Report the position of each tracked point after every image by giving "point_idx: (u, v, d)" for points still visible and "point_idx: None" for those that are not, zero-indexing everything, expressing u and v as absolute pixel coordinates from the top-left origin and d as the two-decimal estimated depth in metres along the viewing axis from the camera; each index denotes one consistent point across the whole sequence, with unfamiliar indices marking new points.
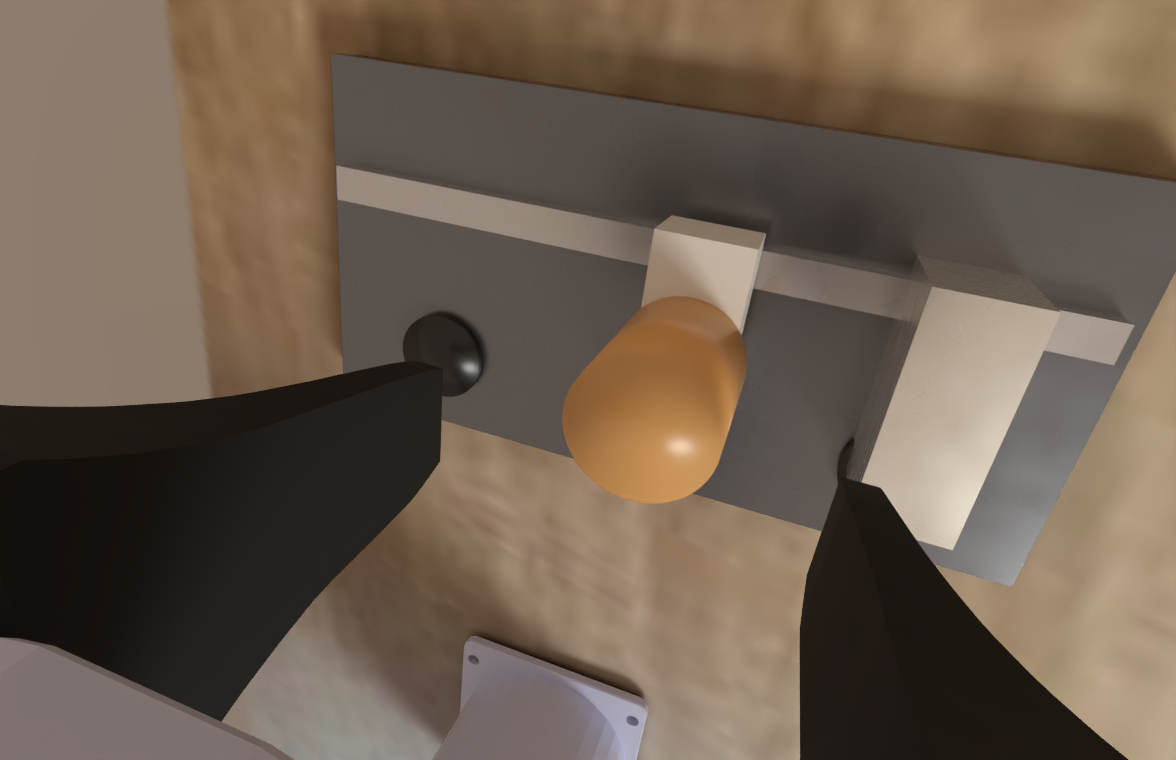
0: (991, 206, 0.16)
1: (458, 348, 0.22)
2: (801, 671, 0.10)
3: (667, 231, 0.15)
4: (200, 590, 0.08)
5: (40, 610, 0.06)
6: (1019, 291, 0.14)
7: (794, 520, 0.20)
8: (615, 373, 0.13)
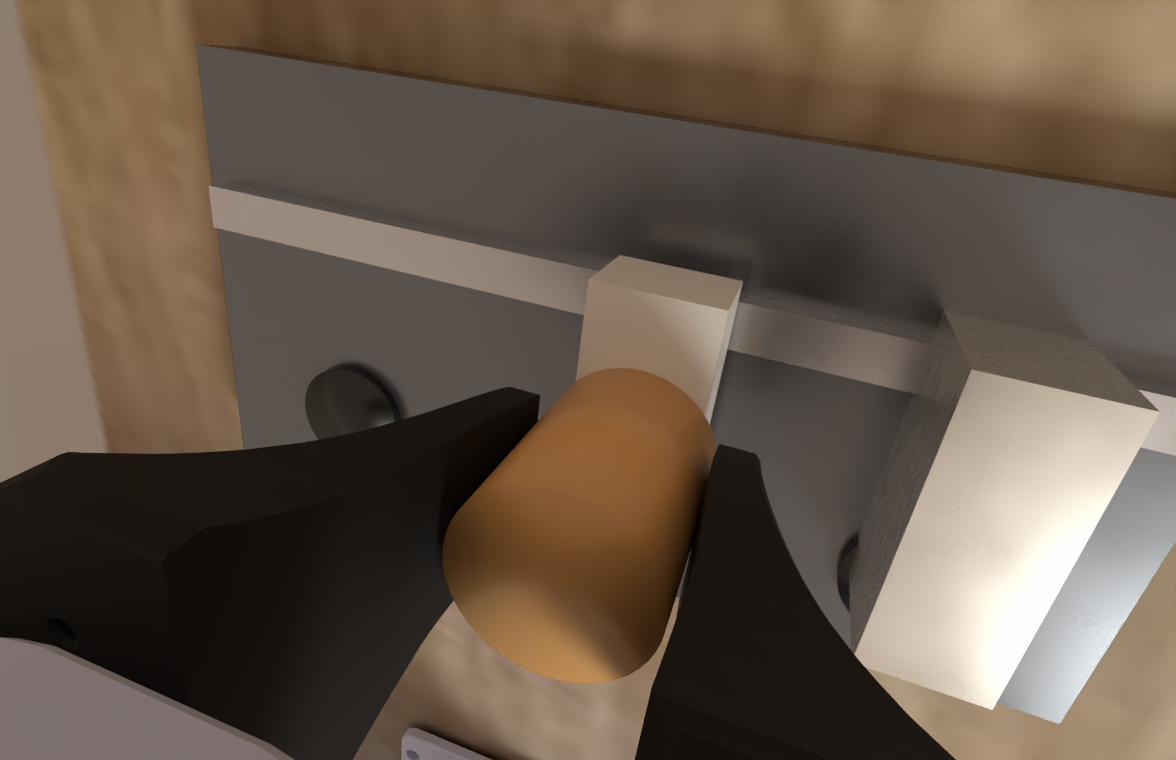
0: (1046, 249, 0.12)
1: (369, 409, 0.17)
2: None
3: (606, 283, 0.11)
4: (336, 645, 0.08)
5: (208, 684, 0.06)
6: (1091, 372, 0.10)
7: None
8: (510, 507, 0.09)
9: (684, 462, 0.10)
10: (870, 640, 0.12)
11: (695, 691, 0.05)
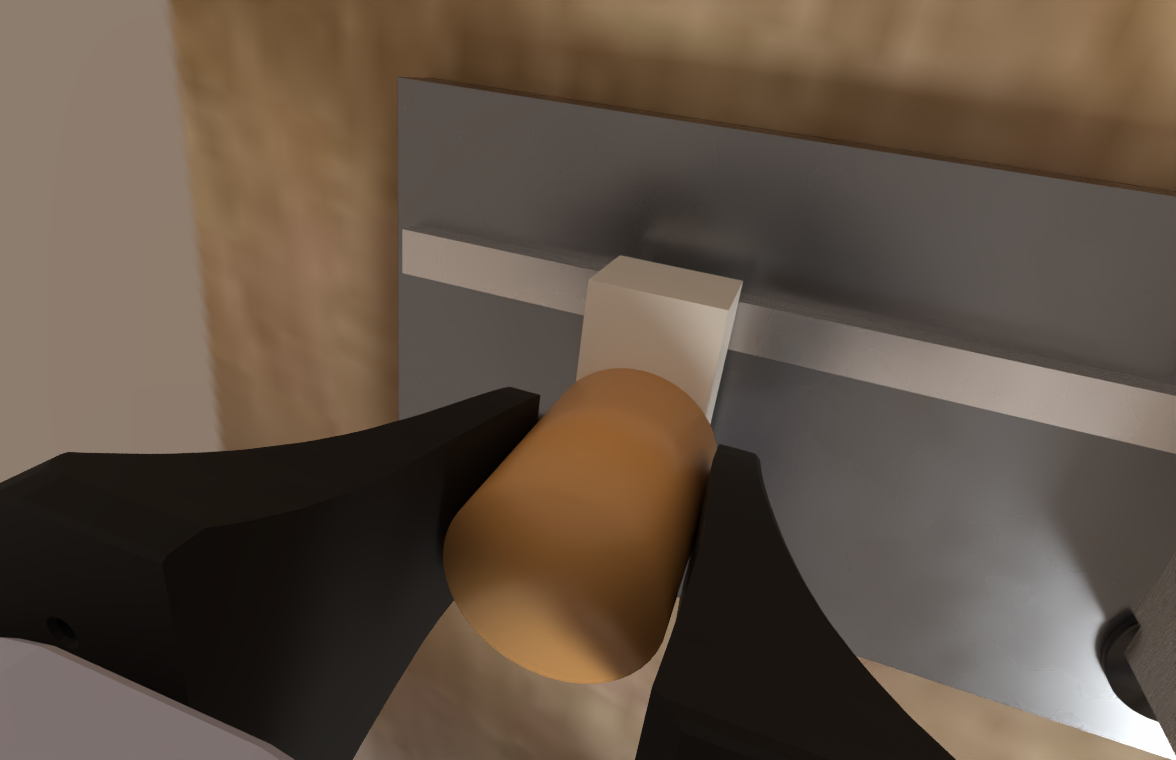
0: None
1: None
2: None
3: (606, 283, 0.11)
4: (336, 645, 0.08)
5: (208, 684, 0.06)
6: None
7: (1025, 708, 0.15)
8: (510, 508, 0.09)
9: (684, 462, 0.10)
10: None
11: (694, 692, 0.05)
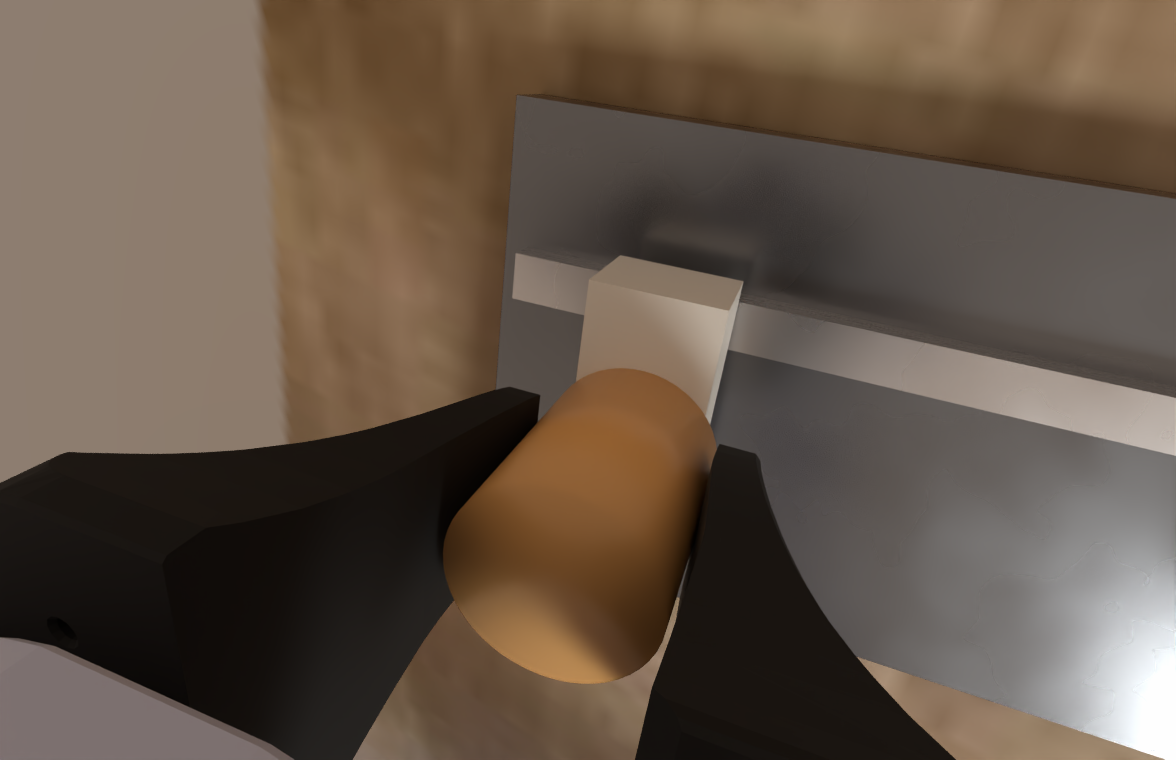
0: None
1: None
2: None
3: (606, 283, 0.11)
4: (336, 645, 0.08)
5: (208, 685, 0.06)
6: None
7: (1163, 755, 0.14)
8: (511, 507, 0.09)
9: (684, 462, 0.10)
10: None
11: (695, 691, 0.05)
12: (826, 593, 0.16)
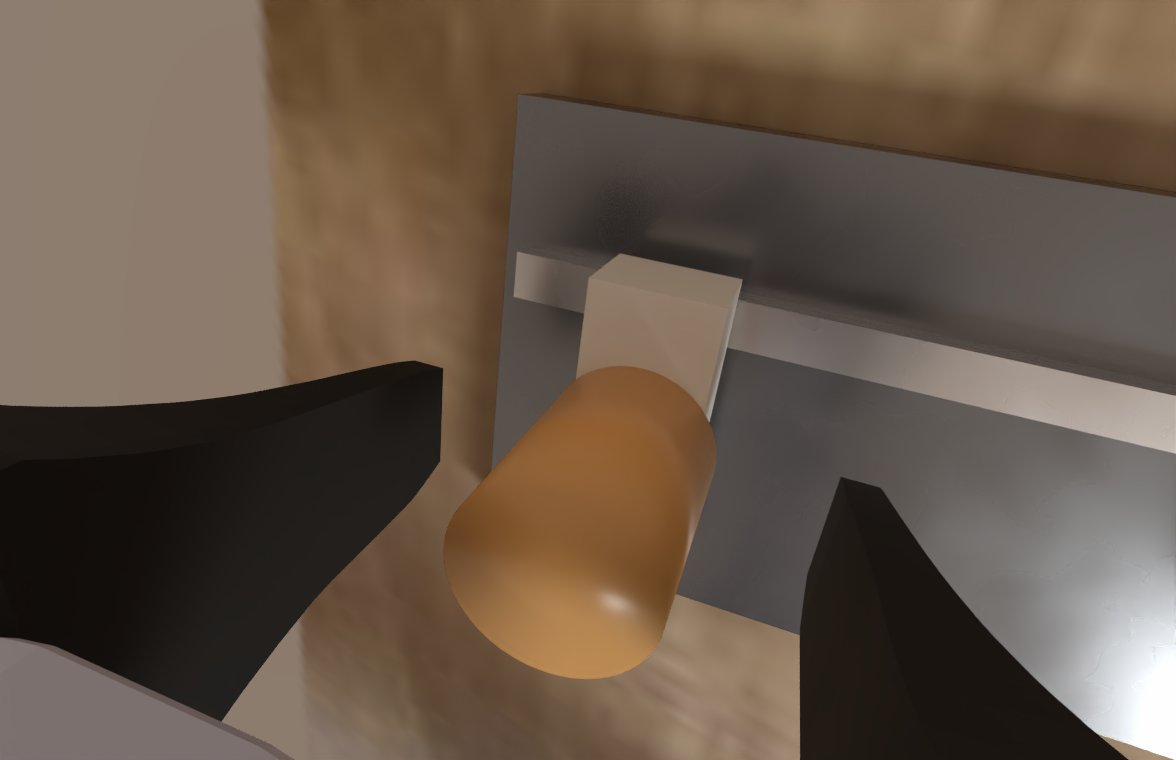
0: None
1: None
2: (801, 671, 0.10)
3: (606, 281, 0.11)
4: (200, 590, 0.08)
5: (40, 610, 0.06)
6: None
7: (1162, 751, 0.14)
8: (511, 504, 0.09)
9: (684, 459, 0.10)
10: None
11: None
12: None
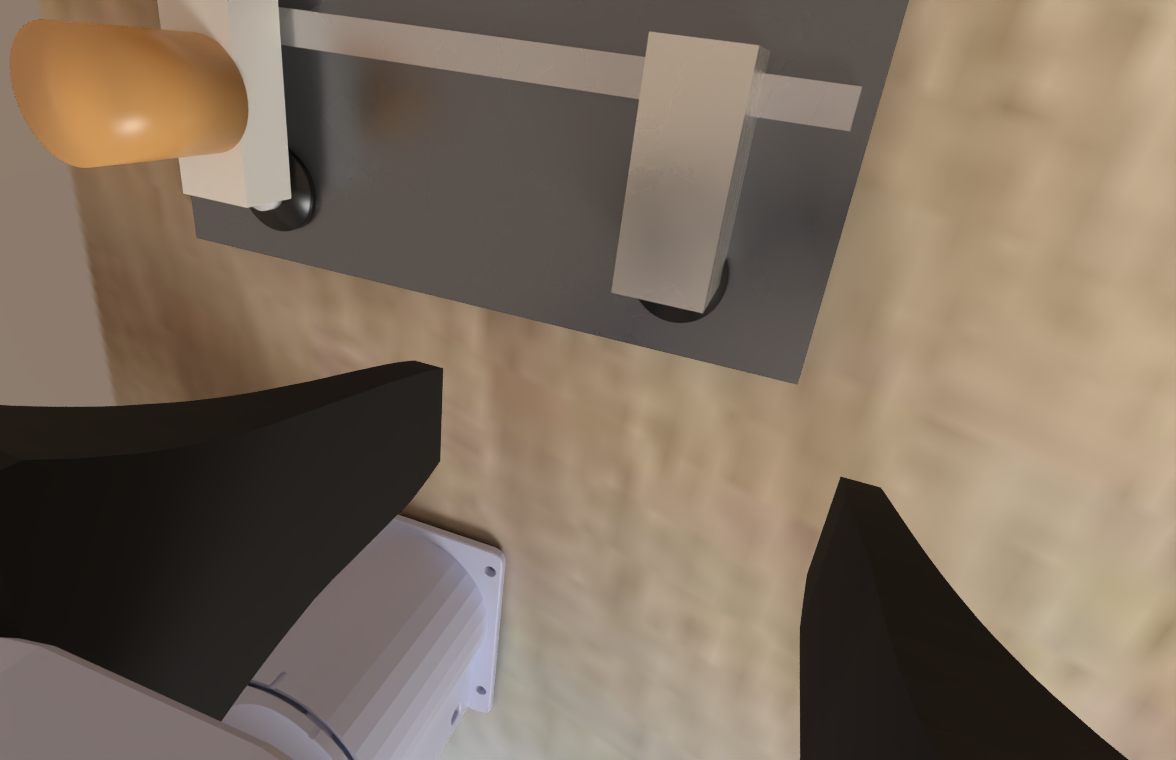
0: None
1: None
2: (801, 671, 0.10)
3: None
4: (200, 590, 0.08)
5: (38, 610, 0.06)
6: None
7: (602, 334, 0.21)
8: (30, 40, 0.15)
9: (179, 56, 0.17)
10: (620, 270, 0.17)
11: None
12: (398, 244, 0.22)
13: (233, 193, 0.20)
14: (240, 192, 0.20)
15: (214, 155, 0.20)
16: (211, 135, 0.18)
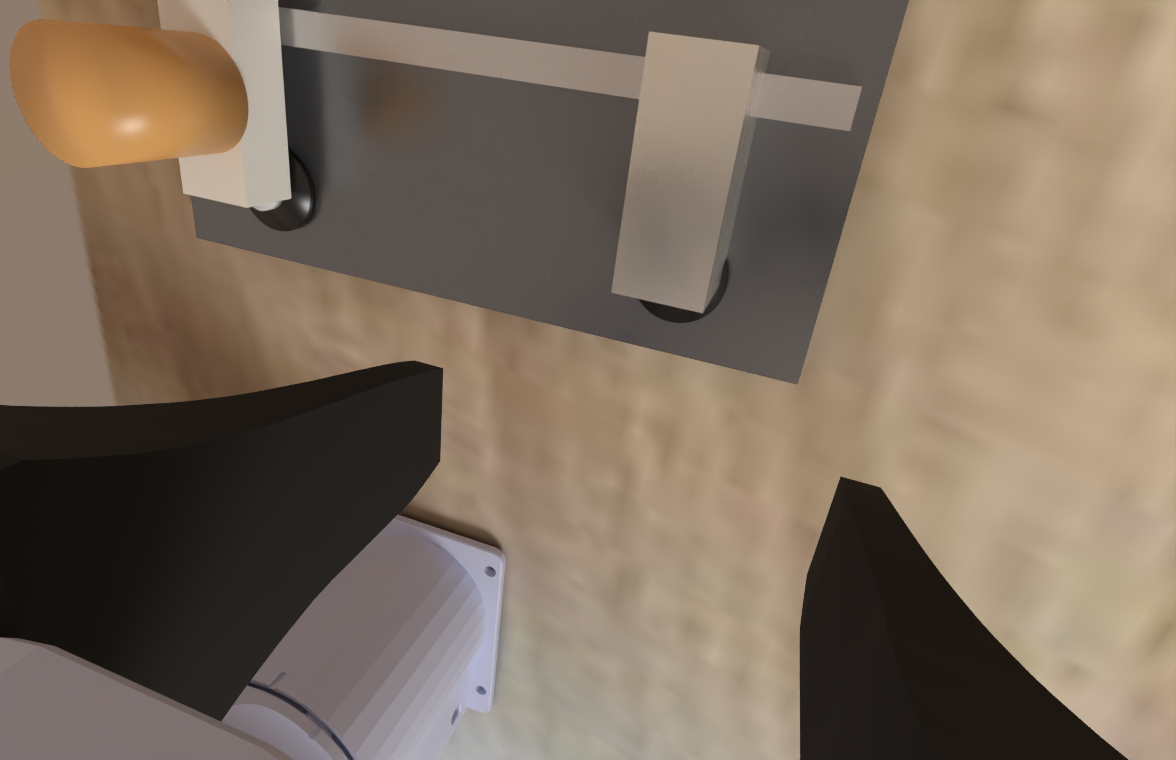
0: None
1: None
2: (801, 671, 0.10)
3: None
4: (200, 590, 0.08)
5: (38, 610, 0.06)
6: None
7: (602, 334, 0.21)
8: (30, 40, 0.15)
9: (179, 56, 0.17)
10: (620, 270, 0.17)
11: None
12: (398, 244, 0.22)
13: (233, 193, 0.20)
14: (240, 192, 0.20)
15: (214, 155, 0.20)
16: (211, 135, 0.18)
